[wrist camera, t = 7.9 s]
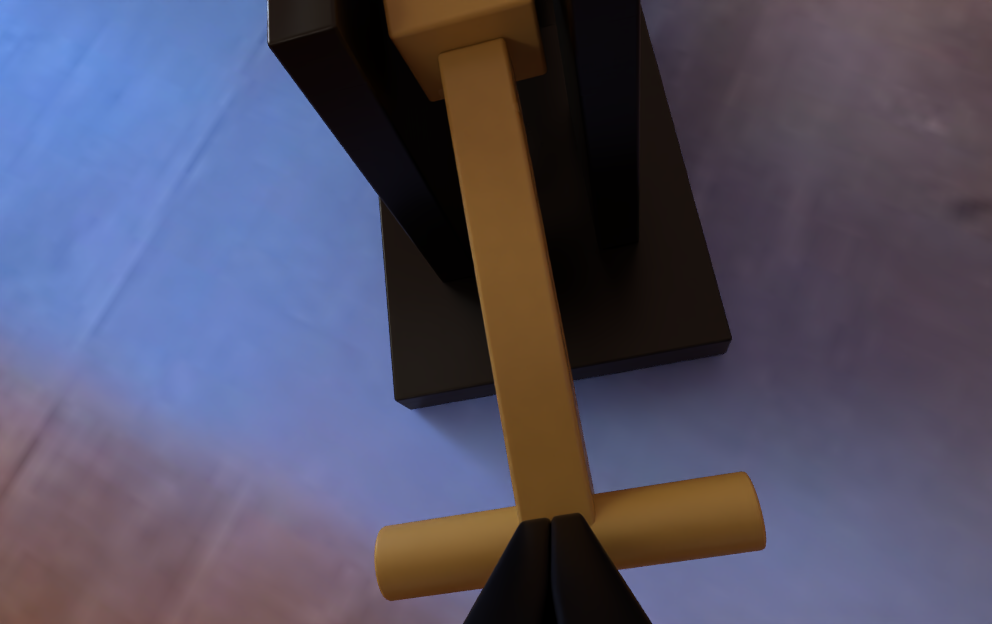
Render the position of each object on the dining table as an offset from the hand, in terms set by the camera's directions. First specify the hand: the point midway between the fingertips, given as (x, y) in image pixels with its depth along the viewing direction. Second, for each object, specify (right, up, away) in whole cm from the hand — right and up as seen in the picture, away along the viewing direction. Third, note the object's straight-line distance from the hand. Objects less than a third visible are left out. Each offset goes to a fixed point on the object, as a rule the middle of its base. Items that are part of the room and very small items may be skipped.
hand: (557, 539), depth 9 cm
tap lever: (0, +4, +3) cm, 5 cm away
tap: (0, +6, +9) cm, 11 cm away
